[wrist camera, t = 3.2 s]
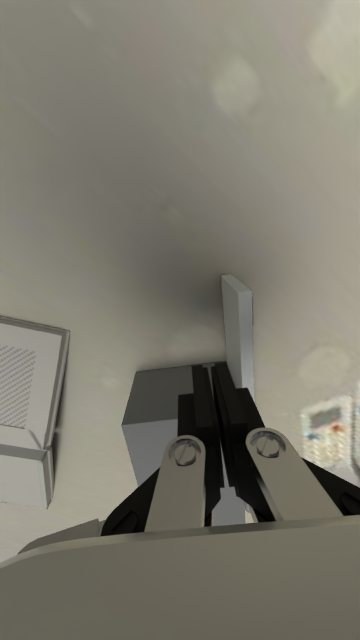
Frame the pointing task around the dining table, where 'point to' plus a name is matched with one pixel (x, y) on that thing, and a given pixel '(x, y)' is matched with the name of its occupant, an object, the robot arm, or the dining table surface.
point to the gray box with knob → (167, 430)
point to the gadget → (29, 409)
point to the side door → (239, 334)
